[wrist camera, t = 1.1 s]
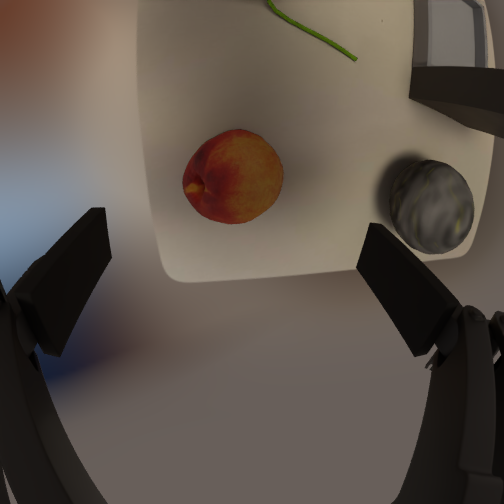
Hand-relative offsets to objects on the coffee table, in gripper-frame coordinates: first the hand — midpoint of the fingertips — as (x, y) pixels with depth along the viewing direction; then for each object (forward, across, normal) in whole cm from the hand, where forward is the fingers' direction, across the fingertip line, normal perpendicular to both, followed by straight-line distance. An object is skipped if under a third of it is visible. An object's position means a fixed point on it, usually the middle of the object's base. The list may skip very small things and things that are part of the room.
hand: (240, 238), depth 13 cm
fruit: (+15, 0, 0) cm, 15 cm away
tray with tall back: (+15, +24, +21) cm, 35 cm away
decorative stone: (+15, +21, 0) cm, 25 cm away
